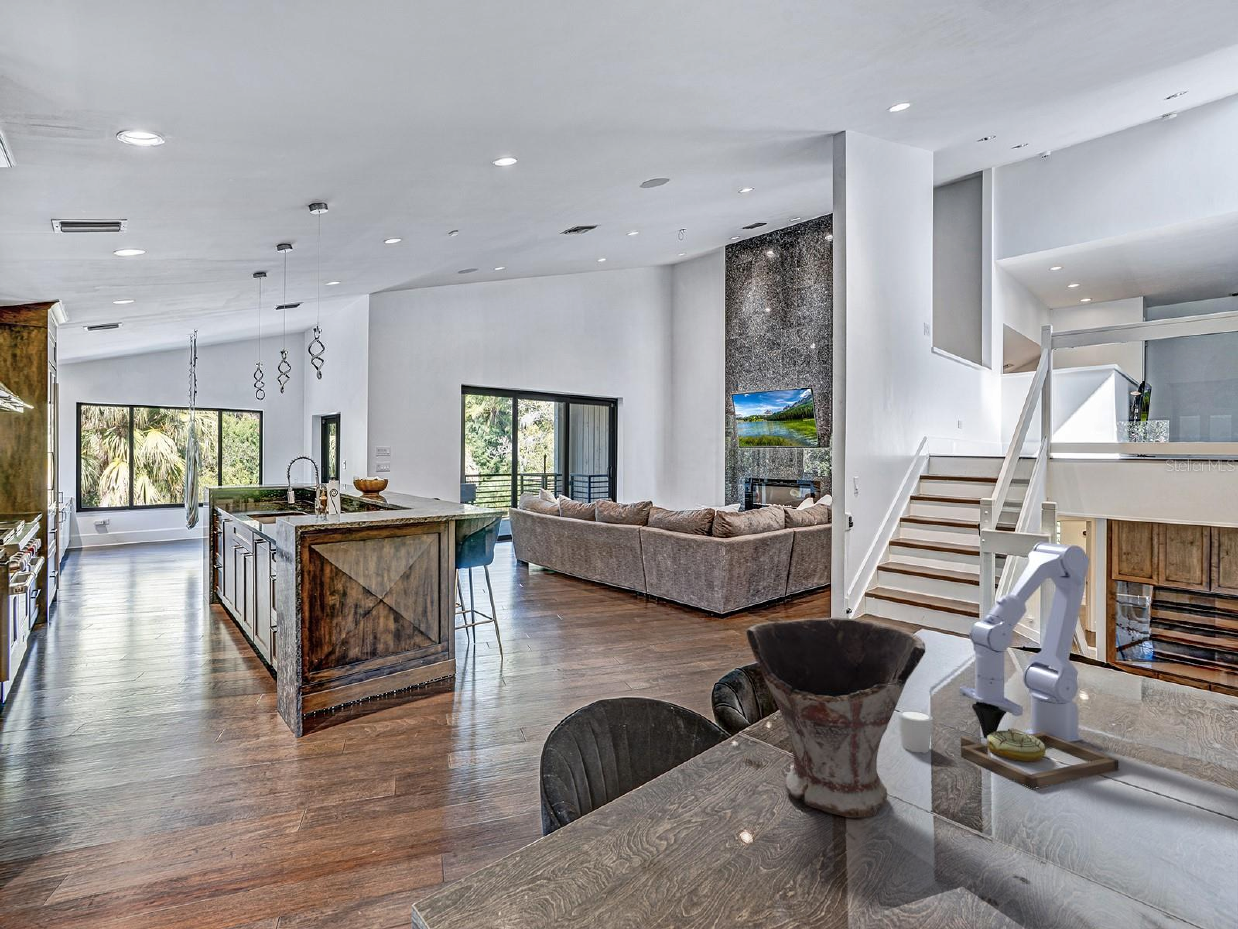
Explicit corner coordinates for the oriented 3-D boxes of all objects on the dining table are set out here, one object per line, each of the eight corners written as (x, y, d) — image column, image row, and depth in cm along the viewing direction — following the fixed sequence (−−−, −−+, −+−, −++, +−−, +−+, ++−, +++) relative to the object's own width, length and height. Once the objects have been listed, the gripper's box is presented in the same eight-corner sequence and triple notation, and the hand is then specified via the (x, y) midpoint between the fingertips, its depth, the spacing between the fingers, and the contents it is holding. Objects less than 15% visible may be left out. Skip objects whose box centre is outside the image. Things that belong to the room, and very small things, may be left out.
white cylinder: (936, 755, 143) (936, 722, 143) (901, 752, 144) (902, 719, 144) (928, 743, 150) (928, 711, 150) (895, 740, 151) (895, 708, 151)
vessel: (728, 771, 134) (730, 618, 134) (835, 751, 144) (837, 610, 145) (830, 848, 106) (833, 656, 107) (954, 816, 117) (955, 642, 117)
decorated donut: (981, 742, 151) (981, 724, 151) (1035, 747, 148) (1035, 730, 148) (993, 760, 141) (993, 742, 141) (1052, 767, 138) (1052, 748, 138)
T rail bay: (945, 749, 146) (945, 739, 146) (1026, 734, 156) (1026, 725, 156) (1032, 789, 128) (1032, 778, 128) (1118, 770, 137) (1118, 760, 137)
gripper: (949, 669, 156) (948, 728, 156) (1006, 688, 143) (1005, 752, 142) (971, 666, 159) (971, 724, 158) (1029, 684, 145) (1029, 748, 145)
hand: (989, 738), depth 151 cm, fingers closed
